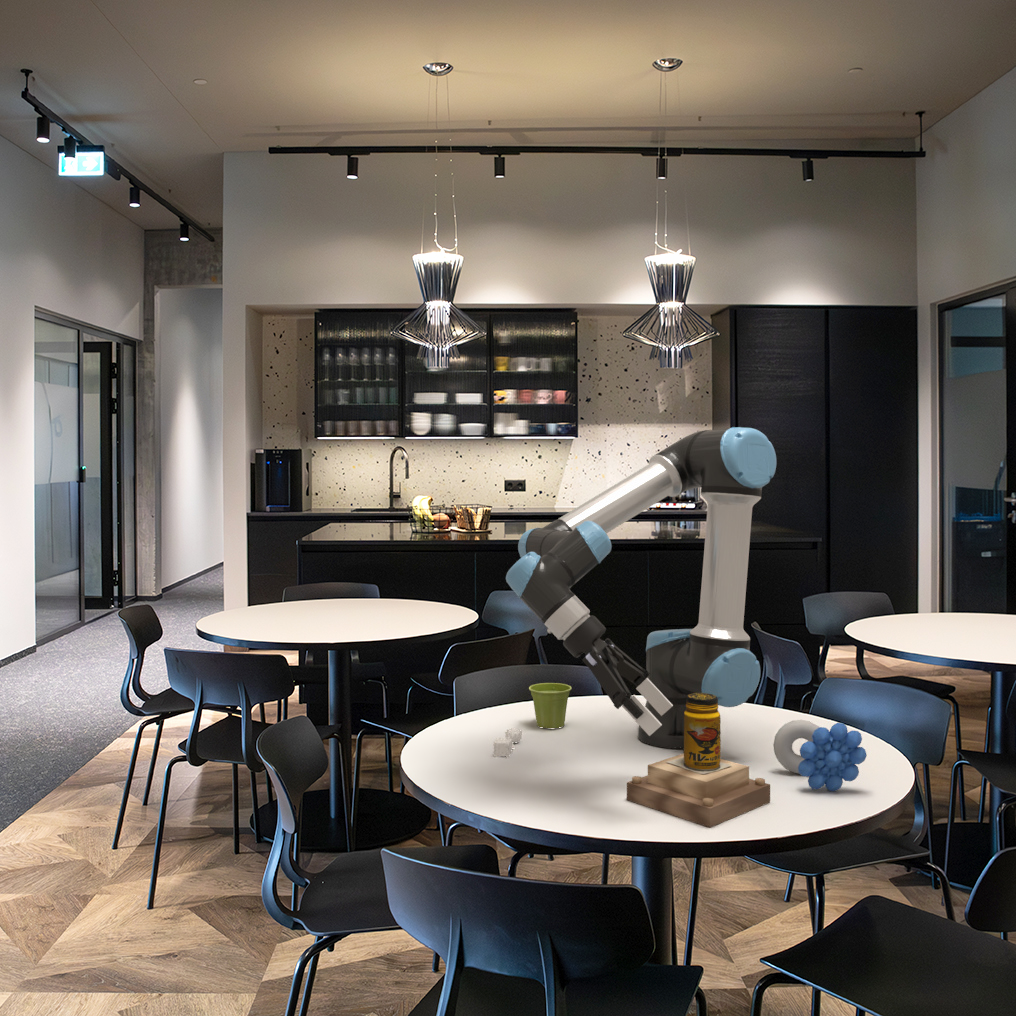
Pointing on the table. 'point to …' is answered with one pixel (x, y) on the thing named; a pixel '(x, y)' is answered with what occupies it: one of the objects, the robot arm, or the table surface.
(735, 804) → the wooden riser
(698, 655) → the robot arm
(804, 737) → the donut
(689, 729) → the condiment
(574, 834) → the table surface
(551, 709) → the plant pot
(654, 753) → the table surface
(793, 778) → the table surface
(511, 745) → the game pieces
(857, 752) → the blue sphere flower
